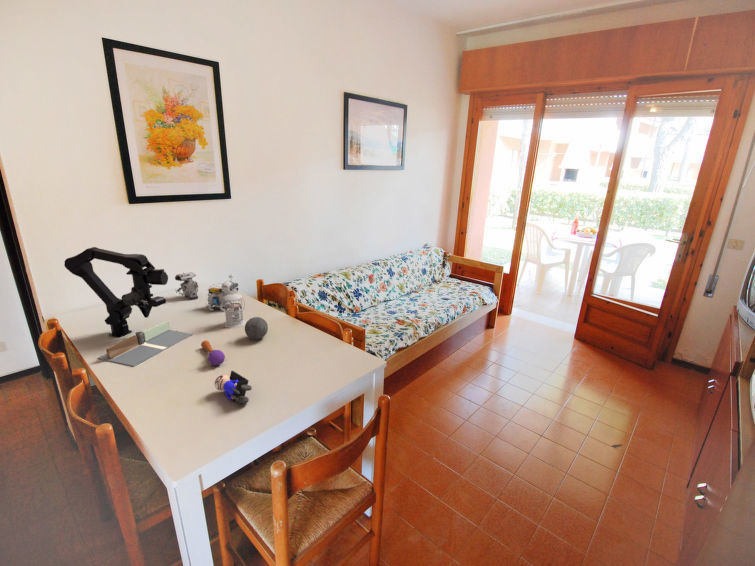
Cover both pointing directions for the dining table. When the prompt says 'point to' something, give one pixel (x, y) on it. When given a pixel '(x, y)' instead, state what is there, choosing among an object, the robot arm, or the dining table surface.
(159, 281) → the robot arm
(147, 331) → the swing panel
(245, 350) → the dining table surface
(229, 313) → the french press
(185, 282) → the figurine
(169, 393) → the dining table surface
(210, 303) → the robotic toy
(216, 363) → the kendama
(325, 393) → the dining table surface
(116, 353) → the brown wooden bar
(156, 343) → the card
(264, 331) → the decorative ball
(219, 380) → the character figurine
